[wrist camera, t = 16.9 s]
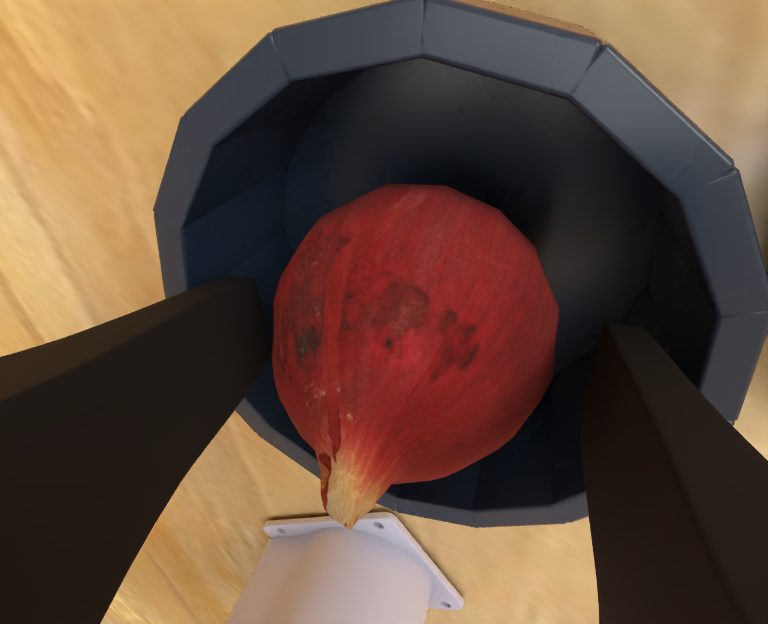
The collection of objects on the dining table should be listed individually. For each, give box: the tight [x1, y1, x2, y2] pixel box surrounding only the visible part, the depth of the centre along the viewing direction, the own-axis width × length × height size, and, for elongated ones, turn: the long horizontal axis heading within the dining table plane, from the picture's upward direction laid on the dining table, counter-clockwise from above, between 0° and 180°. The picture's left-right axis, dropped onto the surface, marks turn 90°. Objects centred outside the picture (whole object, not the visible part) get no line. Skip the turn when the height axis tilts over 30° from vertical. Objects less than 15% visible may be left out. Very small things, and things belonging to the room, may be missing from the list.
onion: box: [272, 183, 559, 530], centre depth 9 cm, size 6×6×8 cm
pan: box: [153, 0, 768, 528], centre depth 11 cm, size 11×11×5 cm
